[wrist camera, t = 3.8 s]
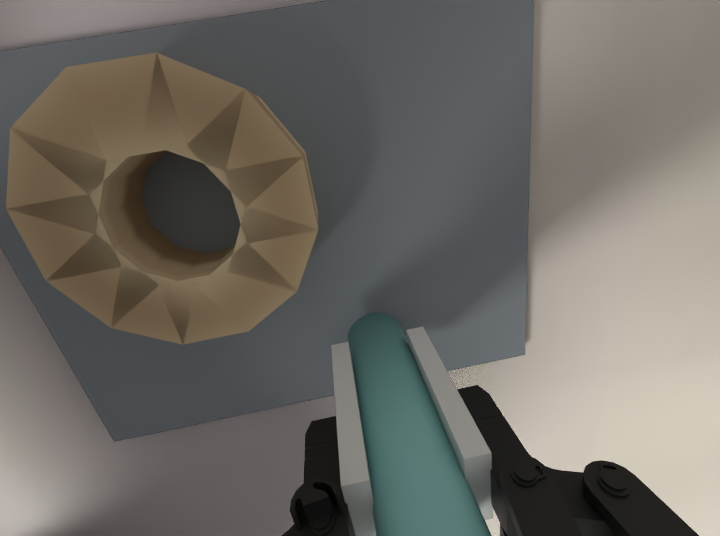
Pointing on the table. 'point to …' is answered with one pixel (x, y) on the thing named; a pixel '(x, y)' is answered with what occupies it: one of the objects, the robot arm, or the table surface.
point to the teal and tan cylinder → (406, 440)
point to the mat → (322, 197)
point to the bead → (127, 210)
